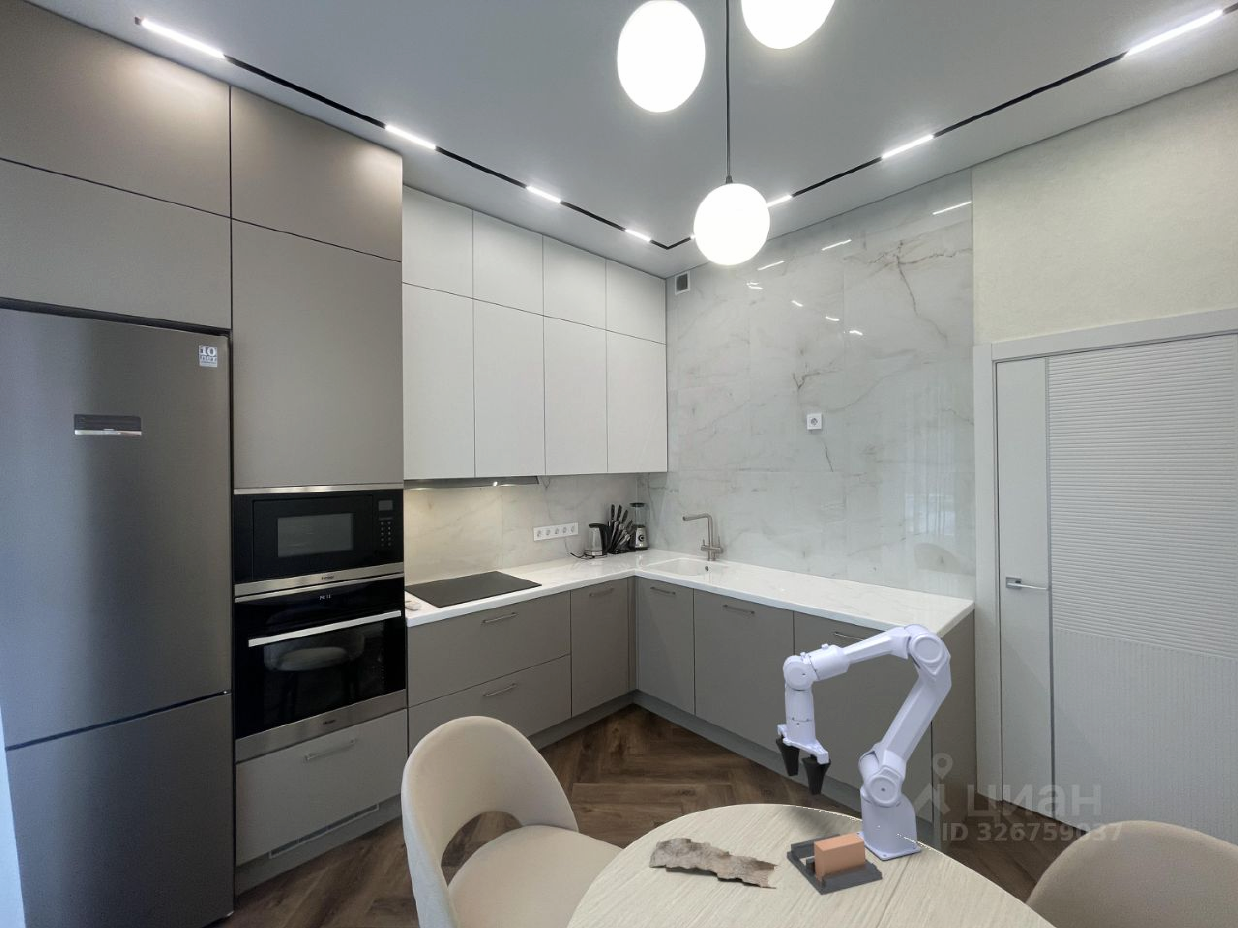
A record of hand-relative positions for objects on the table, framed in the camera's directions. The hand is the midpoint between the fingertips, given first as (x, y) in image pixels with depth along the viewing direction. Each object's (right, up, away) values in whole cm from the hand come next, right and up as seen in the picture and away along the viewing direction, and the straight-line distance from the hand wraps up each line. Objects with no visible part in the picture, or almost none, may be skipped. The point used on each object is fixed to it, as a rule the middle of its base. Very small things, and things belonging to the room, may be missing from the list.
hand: (803, 783), depth 104 cm
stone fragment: (-21, -10, -11) cm, 25 cm away
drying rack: (+1, -8, -12) cm, 14 cm away
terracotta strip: (+2, -8, -14) cm, 16 cm away
